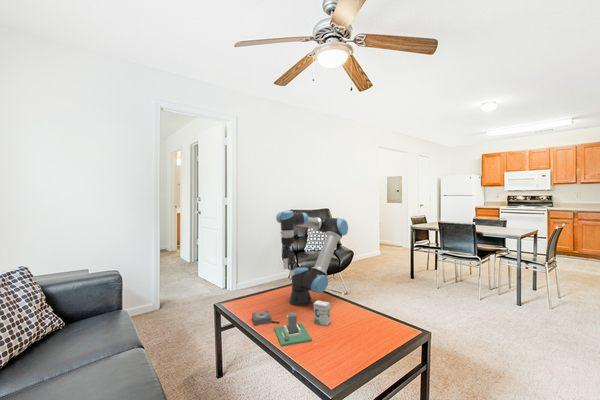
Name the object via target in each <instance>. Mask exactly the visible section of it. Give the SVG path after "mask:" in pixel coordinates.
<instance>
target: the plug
mask: <svg viewBox="0 0 600 400" xmlns="http://www.w3.org/2000/svg"><path fill="white" fill-rule="evenodd" d="M297 319H298V318H297V314H296V313H295V311H294V312H288V313H286V324H287V325H286V326H288V331H289V334H295V333H297V324H298V323H297Z"/></svg>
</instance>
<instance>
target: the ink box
mask: <svg viewBox="0 0 600 400" xmlns="http://www.w3.org/2000/svg"><path fill="white" fill-rule="evenodd" d="M313 323H314V324H317V325H322V326H329V325H330V323H331V303H330V302H328V301H323V300H320V299H319V300H316V301H314V302H313Z"/></svg>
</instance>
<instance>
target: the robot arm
mask: <svg viewBox="0 0 600 400" xmlns="http://www.w3.org/2000/svg"><path fill="white" fill-rule="evenodd" d="M275 218H276V219H275V220H276V222H278V224H280V232H279V233H280V235H281V239H280V240H281V242H280V243H281V244H282V253H281V257H282V263H283V265H282V266H283V267H282V268H283V270H288V271H289V276H290V277H291V292H290V296H289V303H290V305H293V306H297V307H298V306H299V307H300V306H301V307H303V306H307V305H309V304H311V303H312V297H311V292H313V293H319V294H320V293H323V292H324V291H326V290H327V287H328V284H329V278H328V273H327V271H328V268H329V266H330V263H331V261H332V257H333V256H334V253H335V250H336V248H337V244H338V242H339V241H340V240H342V237H343V236H346V235H347V234H348V232H349V224H348V222H347V220H346V219H344V218H339V217H337V218H336V217H318V216H317V217H316V216H315V217H311V216H309V215H308V213H306V212H301V211H300V212H294V211H293V210H282V211H279V212H278V213H277V214H276V217H275ZM297 226H298V227H303V228H310V229H312V230H313V231H318V232H320V233H323V234H324V233H325V234H326V237H325V238H324V239H325V240H324V242H323V244H322V247H321V249H320V252H319V254H318V257H317V259H316V262H315V264H314V266H313V267H311V268H310V271H309V267H297V268H295V264H296V258H295V253H294V246H292V244H294V243H295V237H294V236H295V231H294V227H297ZM310 291H311V292H310Z"/></svg>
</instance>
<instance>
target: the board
mask: <svg viewBox="0 0 600 400" xmlns="http://www.w3.org/2000/svg"><path fill="white" fill-rule="evenodd" d="M274 332H275V334H276V337H277V339H278V341H279V344H280V346H281V347H286V346H292V345H297V344H304V343H307V342H308V343H309V342H312V341H313V338H312V337H311V335H310V334H309V332H308V331H307V329H306V327H305V326H304V324H303V323H302V322H301V323H297V333H295V334H289V331H288V325H283V326H275V327H274Z"/></svg>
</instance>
